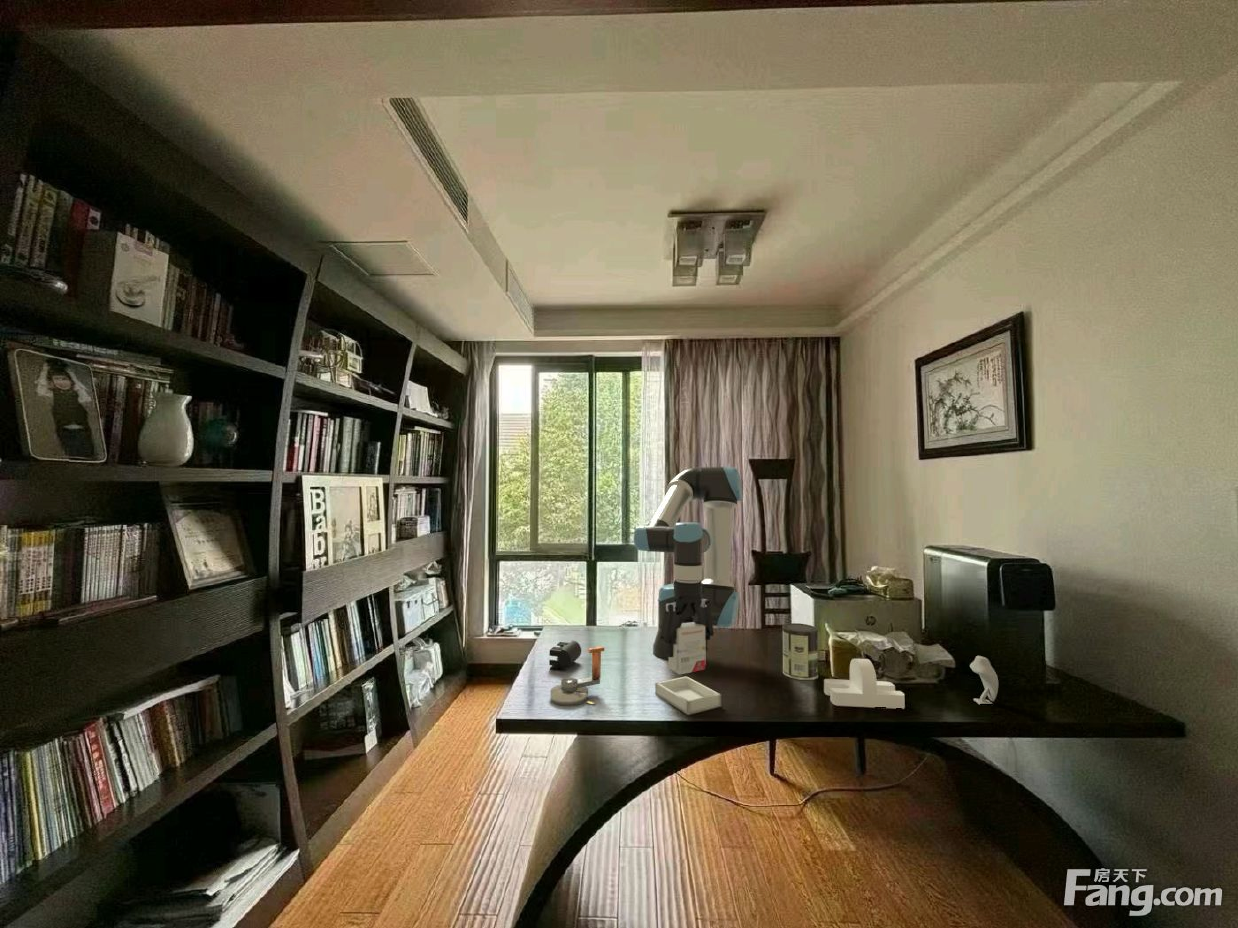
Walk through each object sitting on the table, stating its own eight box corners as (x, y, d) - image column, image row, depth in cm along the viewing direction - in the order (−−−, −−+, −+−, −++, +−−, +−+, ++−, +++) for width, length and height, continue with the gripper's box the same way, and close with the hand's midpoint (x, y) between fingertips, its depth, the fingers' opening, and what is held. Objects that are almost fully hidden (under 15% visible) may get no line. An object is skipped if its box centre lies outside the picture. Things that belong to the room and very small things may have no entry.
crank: (565, 692, 134) (565, 655, 134) (558, 687, 138) (559, 651, 138) (607, 684, 140) (607, 648, 140) (599, 678, 144) (599, 644, 144)
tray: (686, 686, 145) (686, 676, 145) (721, 706, 132) (721, 694, 133) (655, 694, 140) (655, 682, 140) (688, 714, 127) (688, 702, 127)
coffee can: (809, 667, 161) (808, 622, 162) (824, 680, 151) (824, 631, 152) (777, 668, 161) (777, 622, 161) (790, 680, 151) (790, 632, 151)
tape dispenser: (906, 709, 132) (905, 667, 132) (834, 706, 134) (833, 664, 134) (890, 694, 142) (889, 655, 142) (822, 691, 143) (822, 652, 144)
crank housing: (578, 688, 143) (578, 680, 144) (598, 704, 133) (598, 696, 133) (544, 694, 139) (544, 687, 139) (562, 712, 128) (562, 704, 128)
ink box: (695, 664, 140) (695, 620, 141) (706, 670, 136) (706, 625, 137) (668, 669, 137) (668, 624, 137) (678, 675, 132) (678, 628, 133)
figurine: (1004, 709, 132) (1003, 662, 133) (981, 707, 133) (980, 660, 134) (988, 697, 140) (987, 652, 140) (966, 696, 140) (965, 651, 141)
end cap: (570, 673, 155) (570, 650, 156) (548, 670, 157) (548, 648, 158) (581, 662, 165) (581, 640, 165) (560, 660, 167) (561, 638, 167)
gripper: (710, 575, 146) (709, 656, 145) (646, 581, 135) (645, 668, 134) (727, 579, 140) (727, 664, 138) (662, 585, 129) (661, 677, 128)
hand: (687, 666), depth 136 cm, fingers closed on ink box, 9 cm apart
